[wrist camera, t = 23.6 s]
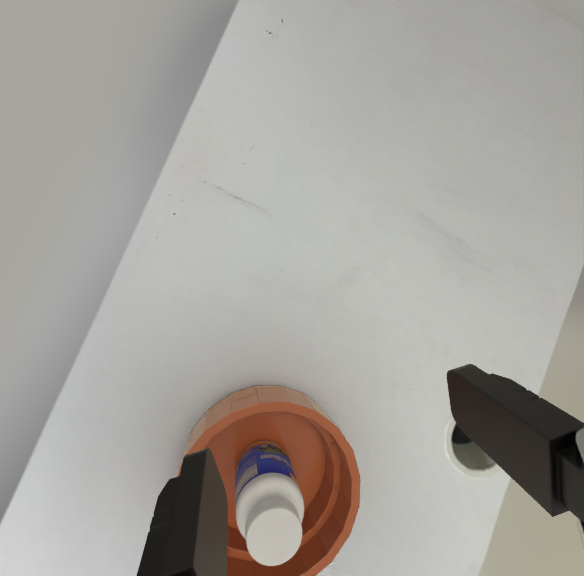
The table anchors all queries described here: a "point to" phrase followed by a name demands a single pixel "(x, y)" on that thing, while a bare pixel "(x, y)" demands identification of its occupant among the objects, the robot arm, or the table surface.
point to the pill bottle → (268, 503)
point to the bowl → (306, 464)
